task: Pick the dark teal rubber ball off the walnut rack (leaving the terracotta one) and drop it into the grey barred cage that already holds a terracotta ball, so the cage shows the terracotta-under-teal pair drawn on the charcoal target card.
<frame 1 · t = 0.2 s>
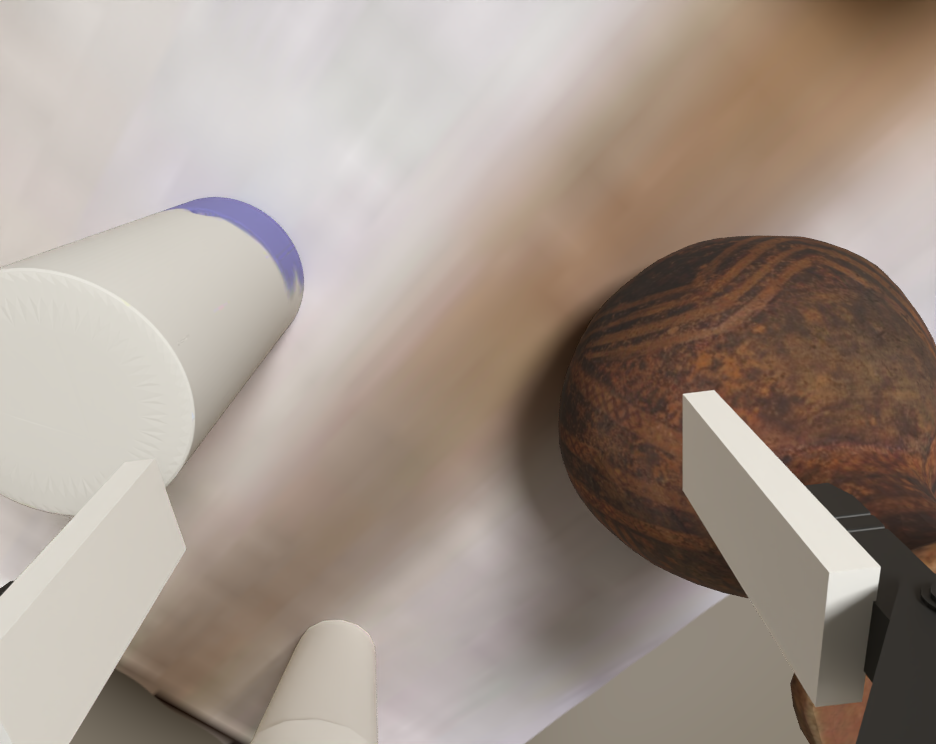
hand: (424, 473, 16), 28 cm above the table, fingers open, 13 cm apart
container: (228, 275, 43), on the table
foam cup: (337, 647, 54), on the table
jug: (700, 373, 46), on the table
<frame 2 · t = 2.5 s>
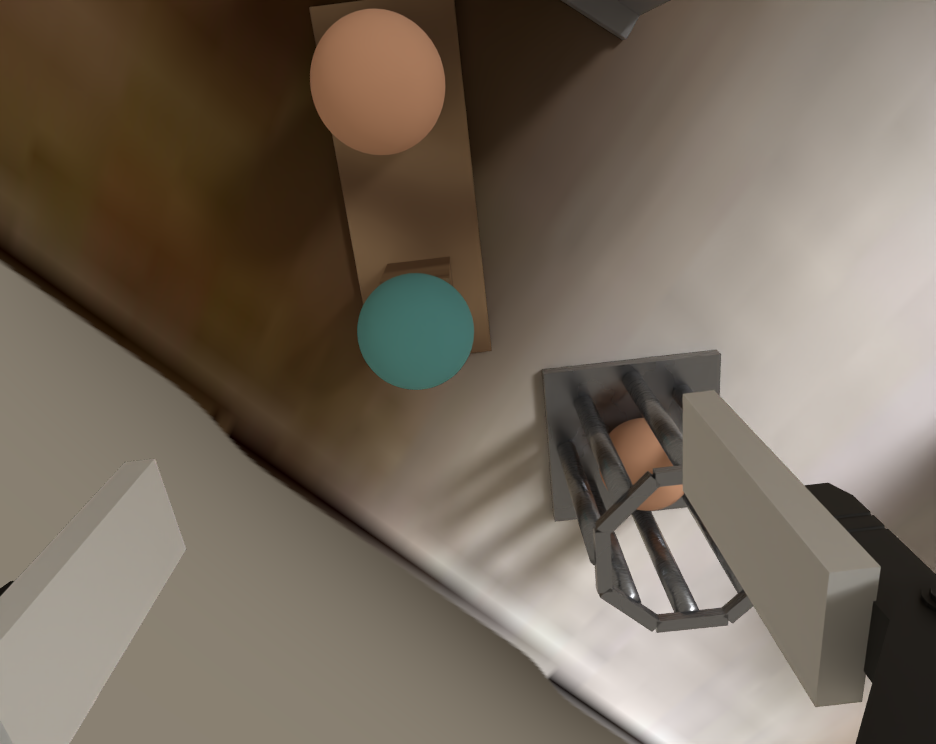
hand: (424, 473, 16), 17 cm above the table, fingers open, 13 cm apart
teal ball: (416, 331, 26), point 7 cm above the table, touching rack
rack ball terracotta: (378, 85, 22), point 7 cm above the table, touching rack
rack: (409, 194, 30), on the table
grey barred cage: (630, 436, 35), on the table
tube ball: (645, 463, 33), point 3 cm above the table, touching grey barred cage
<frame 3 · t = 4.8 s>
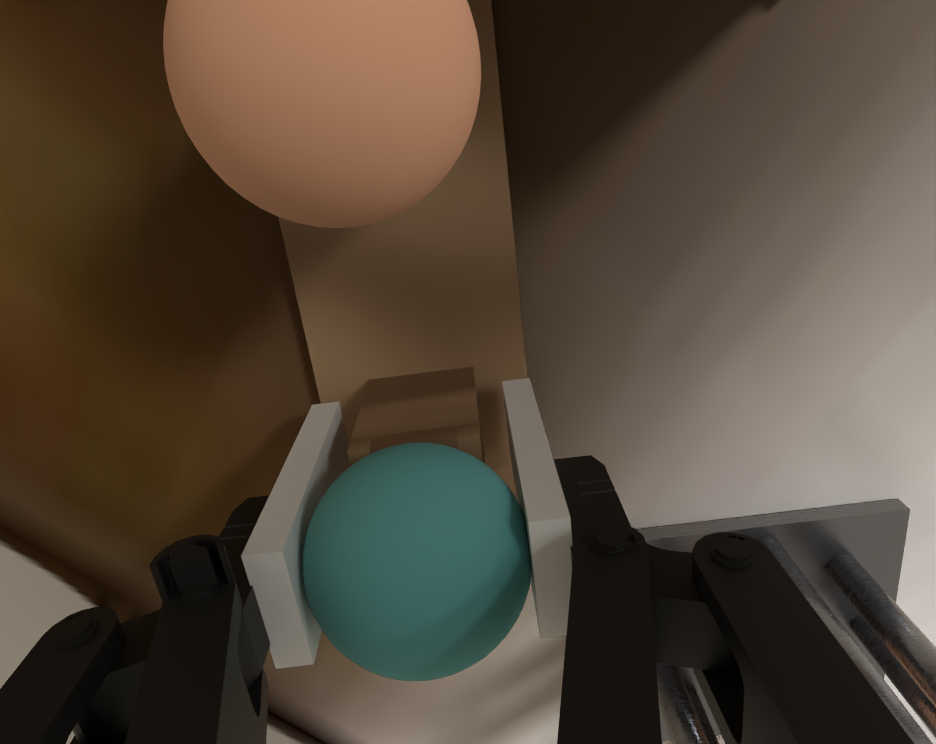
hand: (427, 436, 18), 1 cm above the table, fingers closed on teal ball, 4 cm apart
teal ball: (419, 556, 13), point 7 cm above the table, touching gripper, rack
rack ball terracotta: (330, 73, 10), point 7 cm above the table, touching rack
rack: (405, 266, 18), on the table
grey barred cage: (752, 623, 23), on the table
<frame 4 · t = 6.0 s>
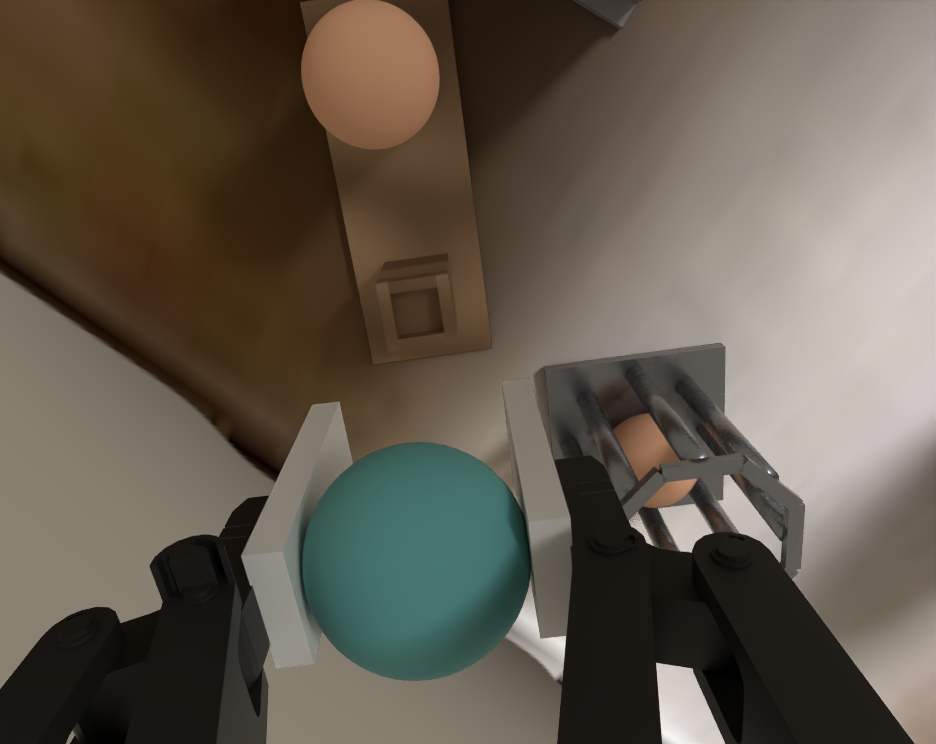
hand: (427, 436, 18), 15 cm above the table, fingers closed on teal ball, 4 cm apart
teal ball: (418, 555, 13), point 20 cm above the table, touching gripper
rack ball terracotta: (371, 77, 22), point 7 cm above the table, touching rack
rack: (406, 191, 30), on the table
grey barred cage: (635, 433, 35), on the table
tube ball: (650, 460, 32), point 3 cm above the table, touching grey barred cage
when the fingers open (11 cm above the table, at t = 7.6 s): teal ball drops 9 cm and tips over, resting on grey barred cage, tube ball.
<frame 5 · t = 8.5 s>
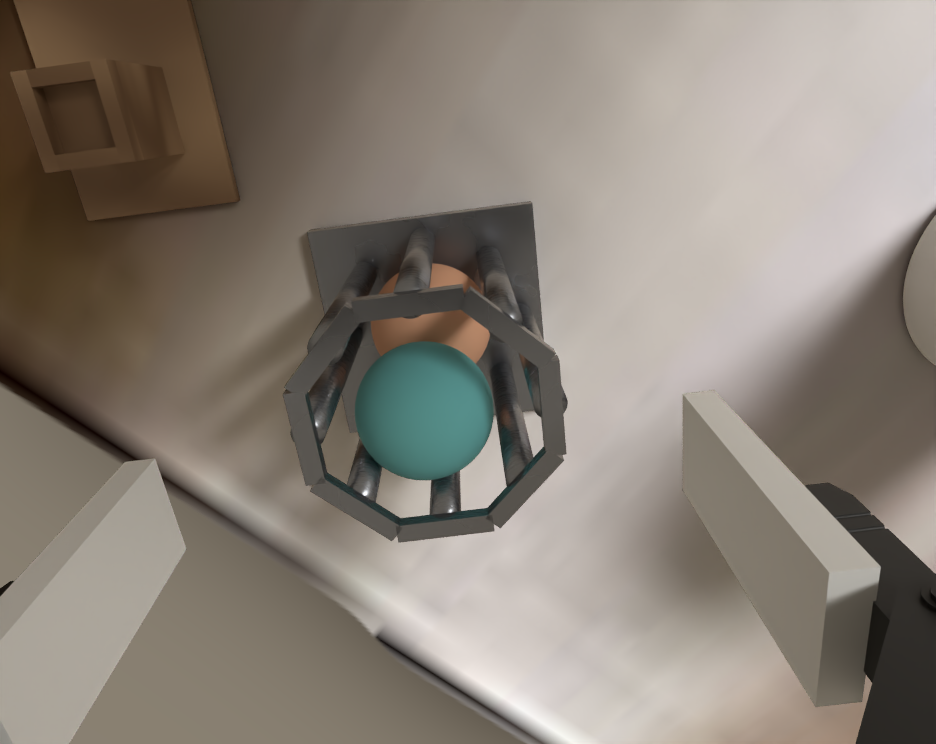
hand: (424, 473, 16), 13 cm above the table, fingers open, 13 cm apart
teal ball: (424, 410, 22), point 7 cm above the table, tilted 60°, touching grey barred cage, tube ball
grey barred cage: (435, 321, 28), on the table
tube ball: (431, 323, 25), point 3 cm above the table, tilted 20°, touching teal ball, grey barred cage
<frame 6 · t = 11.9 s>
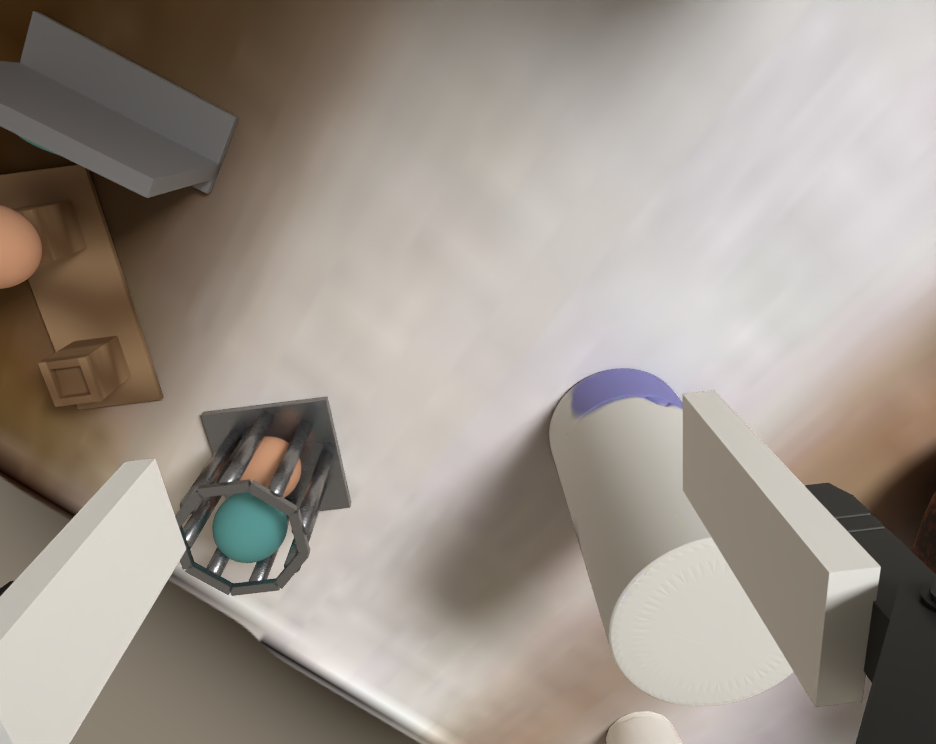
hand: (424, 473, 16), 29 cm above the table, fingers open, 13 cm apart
teal ball: (250, 525, 42), point 7 cm above the table, tilted 60°, touching grey barred cage, tube ball
target card: (124, 122, 40), on the table
rack: (83, 294, 43), on the table
grey barred cage: (279, 458, 48), on the table
container: (615, 428, 48), on the table
foam cup: (639, 734, 60), on the table
tube ball: (267, 469, 45), point 3 cm above the table, tilted 20°, touching teal ball, grey barred cage
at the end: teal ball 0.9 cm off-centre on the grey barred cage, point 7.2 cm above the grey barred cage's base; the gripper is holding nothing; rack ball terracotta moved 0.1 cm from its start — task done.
